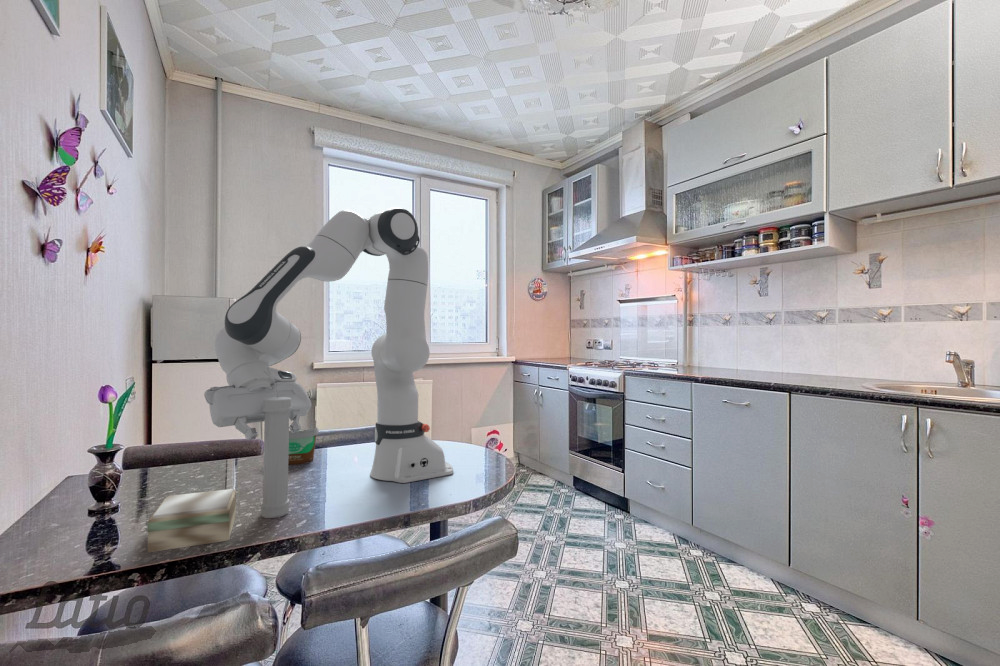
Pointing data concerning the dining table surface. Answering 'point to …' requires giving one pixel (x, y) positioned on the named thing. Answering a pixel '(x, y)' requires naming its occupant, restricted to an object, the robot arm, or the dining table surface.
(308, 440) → the food container
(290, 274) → the robot arm
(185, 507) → the stand
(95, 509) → the dining table surface
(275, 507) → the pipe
